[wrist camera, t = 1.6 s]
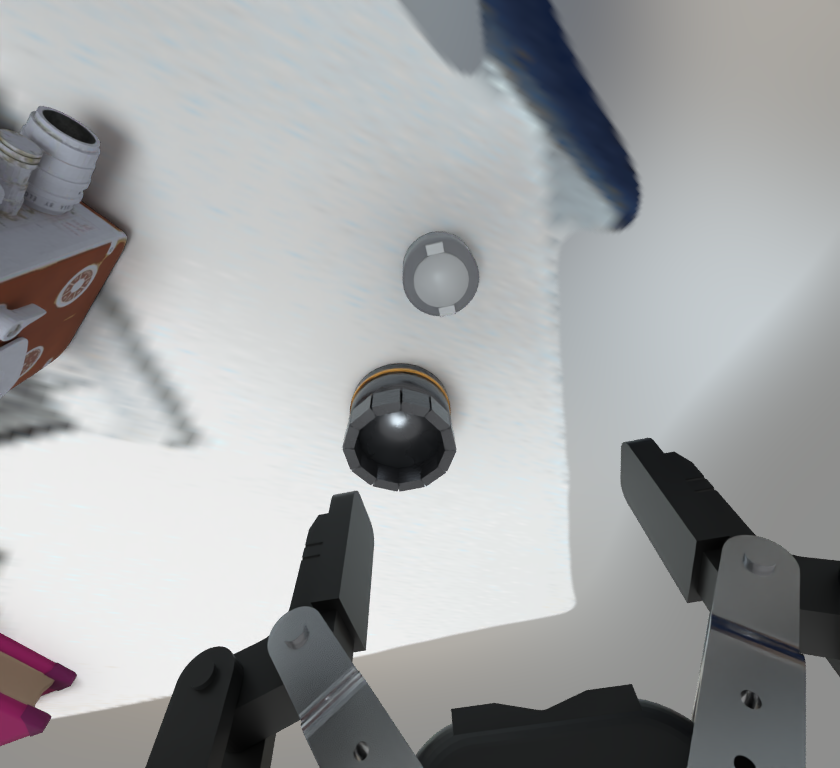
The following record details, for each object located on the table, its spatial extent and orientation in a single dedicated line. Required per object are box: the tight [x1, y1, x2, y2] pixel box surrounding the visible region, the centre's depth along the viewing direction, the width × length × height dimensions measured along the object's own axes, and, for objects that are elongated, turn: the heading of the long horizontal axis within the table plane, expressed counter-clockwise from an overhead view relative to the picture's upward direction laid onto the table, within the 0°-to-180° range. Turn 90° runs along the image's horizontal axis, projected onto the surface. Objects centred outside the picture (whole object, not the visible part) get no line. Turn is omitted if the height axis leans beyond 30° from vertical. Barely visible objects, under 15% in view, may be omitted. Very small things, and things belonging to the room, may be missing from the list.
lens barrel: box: [343, 364, 456, 491], centre depth 38 cm, size 9×9×6 cm
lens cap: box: [403, 232, 479, 317], centre depth 33 cm, size 6×6×4 cm
